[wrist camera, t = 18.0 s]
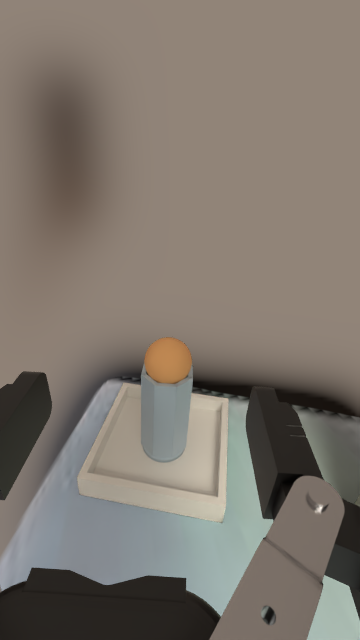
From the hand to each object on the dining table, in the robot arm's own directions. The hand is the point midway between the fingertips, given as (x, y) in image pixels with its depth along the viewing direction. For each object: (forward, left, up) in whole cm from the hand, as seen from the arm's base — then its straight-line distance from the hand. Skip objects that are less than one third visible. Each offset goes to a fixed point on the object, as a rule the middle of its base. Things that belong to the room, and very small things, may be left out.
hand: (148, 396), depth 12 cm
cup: (-9, -16, -25) cm, 31 cm away
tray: (-9, -16, -26) cm, 32 cm away
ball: (-9, -16, -12) cm, 22 cm away
